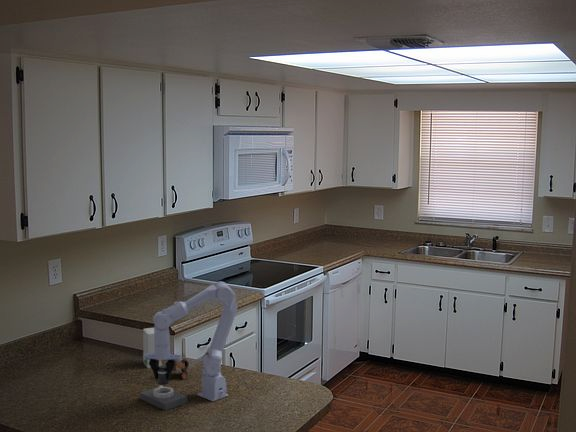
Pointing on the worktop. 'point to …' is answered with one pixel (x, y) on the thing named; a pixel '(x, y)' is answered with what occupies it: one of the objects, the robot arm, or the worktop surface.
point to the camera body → (163, 397)
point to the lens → (162, 375)
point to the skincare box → (148, 344)
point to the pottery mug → (182, 367)
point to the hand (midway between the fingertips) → (162, 378)
